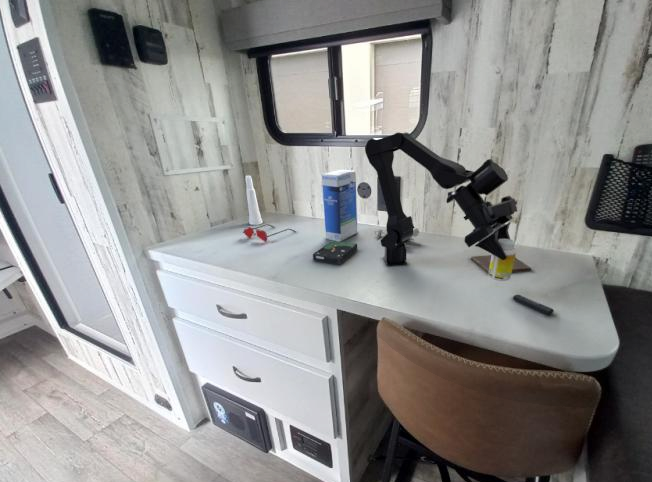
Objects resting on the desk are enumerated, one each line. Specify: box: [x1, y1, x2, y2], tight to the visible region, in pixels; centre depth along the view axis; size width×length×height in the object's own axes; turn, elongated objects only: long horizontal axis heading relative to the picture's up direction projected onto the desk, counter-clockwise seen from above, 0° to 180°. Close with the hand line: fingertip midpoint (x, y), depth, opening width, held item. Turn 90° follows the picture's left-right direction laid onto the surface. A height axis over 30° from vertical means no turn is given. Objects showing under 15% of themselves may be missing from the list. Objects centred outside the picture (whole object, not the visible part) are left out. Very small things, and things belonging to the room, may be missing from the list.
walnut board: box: [470, 254, 532, 274], centre depth 100 cm, size 14×12×1 cm
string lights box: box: [321, 169, 358, 242], centre depth 123 cm, size 13×8×26 cm, turn 150°
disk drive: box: [312, 240, 358, 265], centre depth 108 cm, size 10×3×15 cm
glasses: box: [242, 223, 297, 243], centre depth 129 cm, size 14×16×5 cm
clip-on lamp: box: [374, 227, 420, 244], centre depth 121 cm, size 12×6×18 cm
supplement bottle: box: [487, 238, 517, 282], centre depth 79 cm, size 6×6×10 cm
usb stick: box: [512, 294, 555, 316], centre depth 76 cm, size 10×3×2 cm, turn 35°
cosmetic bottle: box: [244, 174, 264, 226], centre depth 142 cm, size 6×6×22 cm
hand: (508, 255), depth 78 cm, fingers closed on supplement bottle, 5 cm apart
